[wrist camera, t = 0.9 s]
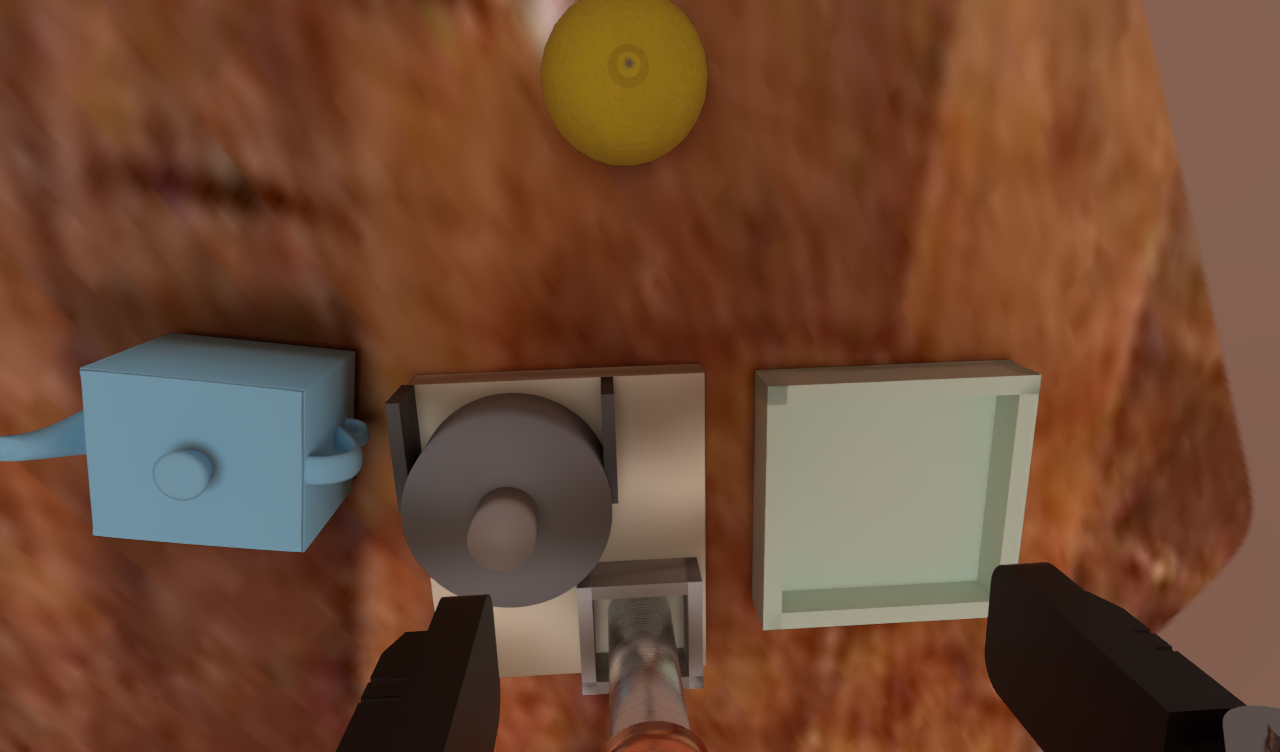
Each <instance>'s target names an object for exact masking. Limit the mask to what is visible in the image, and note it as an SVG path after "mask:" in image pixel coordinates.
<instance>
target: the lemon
mask: <svg viewBox="0 0 1280 752" xmlns="http://www.w3.org/2000/svg"><path fill="white" fill-rule="evenodd" d="M707 80H708V72H707V64H706V55H705V51H704V49H703V46H702V43H701V41H700V38H699V35H698V32H697V31H696V29H695V28H694V26H693V25H692V23H691V22H690V20H689V19H688V17H687V16H686V14H685V13H684V12H683V11H682V10H681V9H679V8H678V7H677V6H676V5H675V4H674V3H673V2H671V1H670V0H579V1H577V2H576V3H574V4H573V5H572V6H570V7H569V8H568V9H567V10H566V12H565V13H564V14H563V15H562V17H561V18H560V19H559V20H558V22H557V23H556V24H555V25H554V28H553V30H552V32H551V34H550V37H549V39H548V41H547V43H546V45H545V49H544V54H543V60H542V65H541V82H542V93H543V97H544V100H545V103H546V107H547V110H548V113H549V115H550V117H551V119H552V121H553V122H554V124H555V126H556V128H557V129H558V131H559V133H560V134H561V135H562V136H563V137H564V138H565V139H566V140H567V141H568V142H569V143H570V144H571V145H572V146H573V147H574V148H575V149H577V150H578V151H580V152H581V153H583V154H585V155H586V156H588V157H590V158H591V159H594V160H597V161H600V162H603V163H606V164H609V165H620V166H634V165H638V164H642V163H647V162H651V161H653V160H655V159H657V158H659V157H661V156H663V155H665V154H667V153H669V152H670V151H671V150H672V149H673V148H675V147H676V146H677V145H678V144H679V143H680V142H681V141H682V140H683V139H685V138H686V136H687V135H688V133H689V132H690V130H691V129H692V127H693V126H694V124H695V123H696V121H697V120H698V117H699V114H700V112H701V109H702V106H703V104H704V101H705V97H706V88H707Z"/></svg>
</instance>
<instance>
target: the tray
mask: <svg viewBox="0 0 1280 752" xmlns="http://www.w3.org/2000/svg"><path fill="white" fill-rule="evenodd" d="M1040 382H1041V374H1039V373H1036V372H1034V371H1032V370H1030V369H1028V368H1026V367H1024V366H1022V365H1019V364H1017V363H1015V362H1013V361H1011V360H1009V359H1007V360H983V361H959V362H936V363H912V364H888V365H864V366H840V367H816V368H792V369H769V370H755V415H754V484H753V552H752V600H753V603H754V606H755V609H756V612H757V614H758V617H759V620H760V623H761V626H762V629H763V630H775V629H793V628H810V627H828V626H845V625H863V624H880V623H897V622H915V621H932V620H950V619H967V618H985V617H988V608H989V596H990V585H991V577H992V573H993V571H994V569H995V568H996V567H997V566H999V565H1007V564H1018V559H1019V551H1020V543H1021V535H1022V527H1023V519H1024V511H1025V503H1026V495H1027V487H1028V479H1029V471H1030V463H1031V455H1032V447H1033V439H1034V431H1035V422H1036V414H1037V406H1038V398H1039V390H1040Z"/></svg>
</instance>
